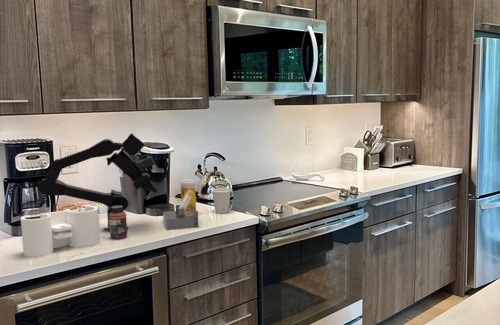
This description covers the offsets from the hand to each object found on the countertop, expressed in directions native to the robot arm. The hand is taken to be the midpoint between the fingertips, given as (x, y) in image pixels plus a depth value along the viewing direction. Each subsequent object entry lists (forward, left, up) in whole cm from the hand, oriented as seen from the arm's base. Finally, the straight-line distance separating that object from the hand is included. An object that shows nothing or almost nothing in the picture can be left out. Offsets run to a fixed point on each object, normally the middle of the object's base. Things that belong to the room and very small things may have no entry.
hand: (157, 191), depth 190 cm
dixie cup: (+4, +32, -14) cm, 35 cm away
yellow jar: (-5, +21, -14) cm, 26 cm away
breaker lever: (+5, +7, -9) cm, 12 cm away
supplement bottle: (+1, -19, -14) cm, 23 cm away
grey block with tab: (+5, +7, -14) cm, 16 cm away
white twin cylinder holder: (-3, -38, -14) cm, 40 cm away
